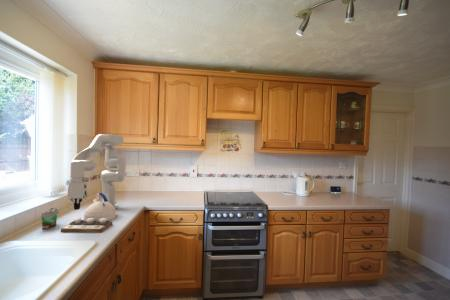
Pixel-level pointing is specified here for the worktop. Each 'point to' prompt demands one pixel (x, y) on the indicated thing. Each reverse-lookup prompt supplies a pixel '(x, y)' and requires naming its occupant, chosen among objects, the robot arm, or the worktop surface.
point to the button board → (83, 222)
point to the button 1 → (77, 219)
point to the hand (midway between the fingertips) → (76, 209)
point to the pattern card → (83, 227)
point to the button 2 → (102, 220)
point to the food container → (49, 218)
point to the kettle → (100, 209)
